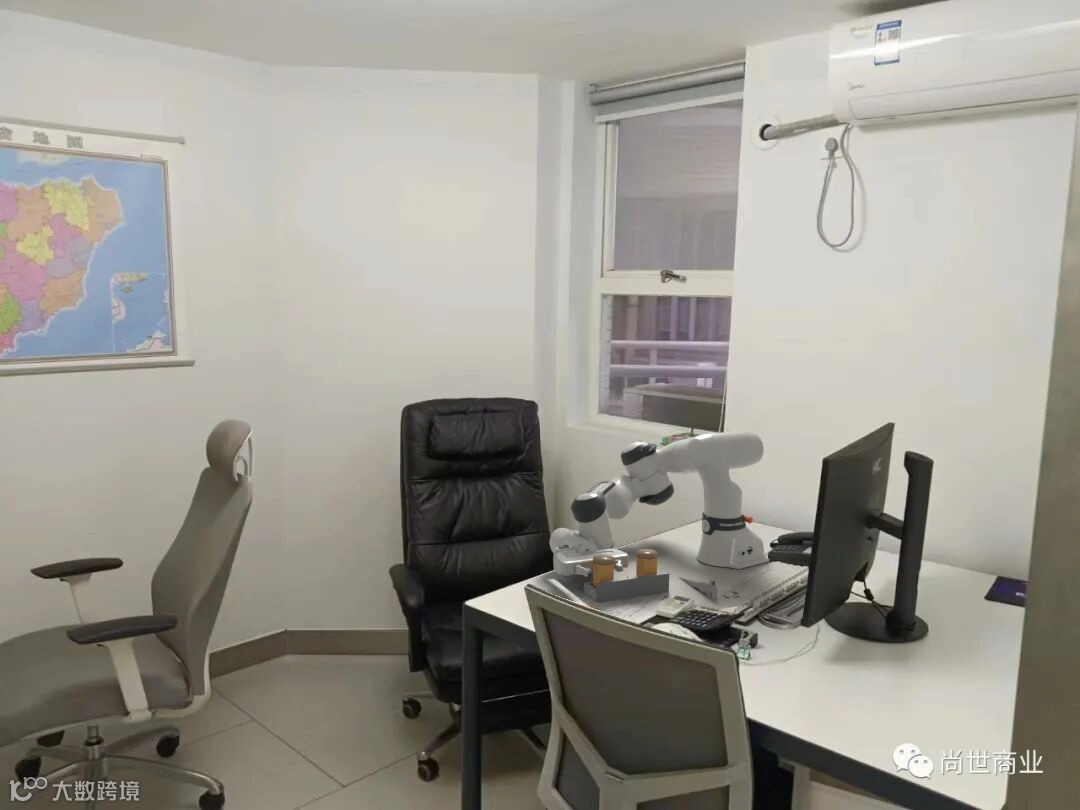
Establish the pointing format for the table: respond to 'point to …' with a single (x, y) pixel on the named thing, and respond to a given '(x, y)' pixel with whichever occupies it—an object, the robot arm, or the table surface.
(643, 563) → the orange jar with lid
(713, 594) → the caliper
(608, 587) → the housing
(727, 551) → the robot arm
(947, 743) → the table surface
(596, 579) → the amber lidded jar
